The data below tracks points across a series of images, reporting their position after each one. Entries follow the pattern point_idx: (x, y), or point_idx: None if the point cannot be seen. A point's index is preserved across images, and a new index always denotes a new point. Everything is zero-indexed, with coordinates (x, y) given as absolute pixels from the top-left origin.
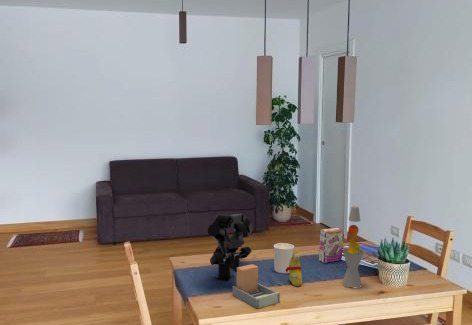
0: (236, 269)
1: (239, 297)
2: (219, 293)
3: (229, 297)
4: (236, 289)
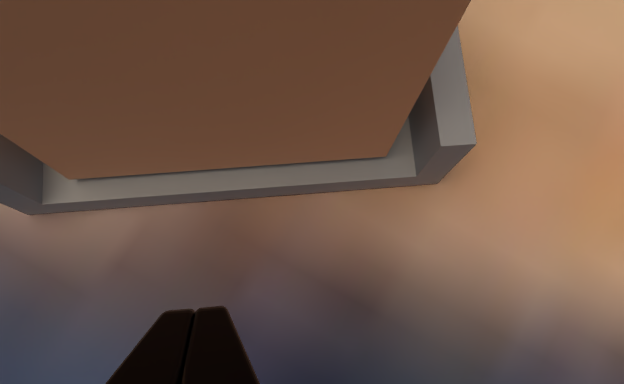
0: (256, 381)
1: None
2: (595, 324)
3: (519, 125)
4: (453, 43)
